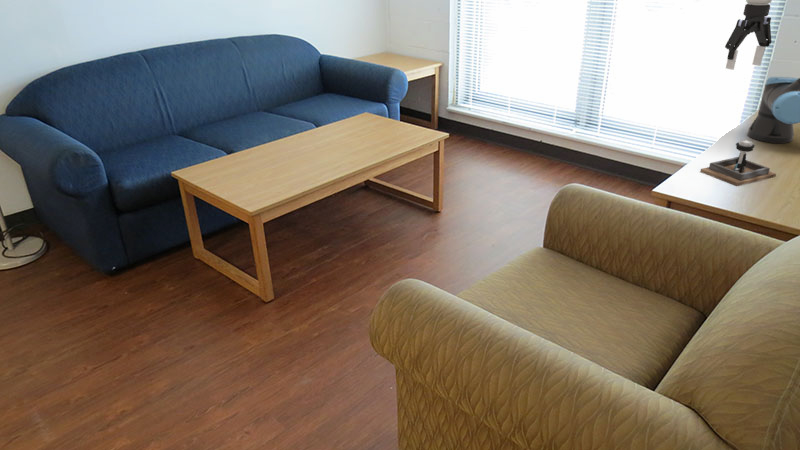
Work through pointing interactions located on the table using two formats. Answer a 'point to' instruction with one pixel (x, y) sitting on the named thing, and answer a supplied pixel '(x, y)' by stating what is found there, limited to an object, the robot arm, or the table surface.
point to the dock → (727, 173)
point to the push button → (742, 154)
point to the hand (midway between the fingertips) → (743, 67)
